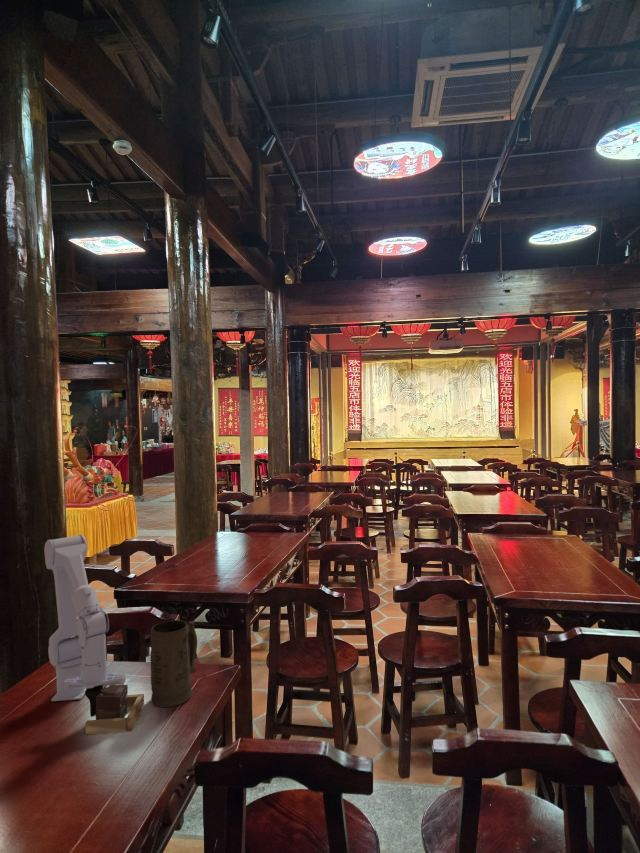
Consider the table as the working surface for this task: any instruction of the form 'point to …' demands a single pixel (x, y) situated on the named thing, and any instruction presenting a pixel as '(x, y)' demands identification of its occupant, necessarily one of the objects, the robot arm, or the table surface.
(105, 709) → the box
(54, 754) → the table surface
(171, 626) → the beer stein
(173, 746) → the table surface
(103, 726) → the slot rails
